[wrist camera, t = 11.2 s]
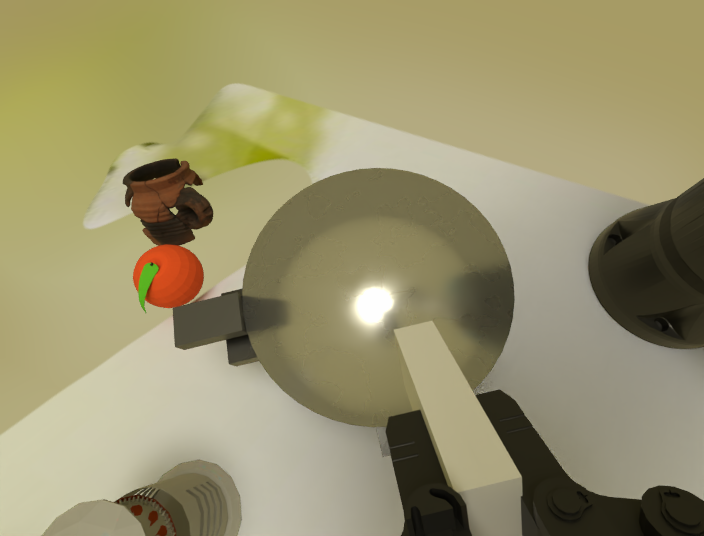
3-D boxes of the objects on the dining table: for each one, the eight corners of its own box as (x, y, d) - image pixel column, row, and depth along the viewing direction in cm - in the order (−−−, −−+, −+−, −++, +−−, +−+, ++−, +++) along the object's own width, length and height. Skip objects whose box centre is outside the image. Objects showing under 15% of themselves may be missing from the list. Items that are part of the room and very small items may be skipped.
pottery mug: (131, 244, 48) (96, 184, 42) (186, 207, 54) (161, 151, 49) (200, 261, 43) (169, 196, 38) (252, 218, 49) (231, 157, 44)
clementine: (196, 330, 42) (162, 315, 36) (142, 315, 44) (99, 298, 37) (222, 265, 45) (195, 240, 38) (171, 253, 46) (135, 226, 39)
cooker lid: (457, 153, 34) (461, 138, 32) (554, 386, 26) (566, 384, 25) (178, 220, 34) (167, 209, 32) (195, 476, 26) (182, 481, 24)
